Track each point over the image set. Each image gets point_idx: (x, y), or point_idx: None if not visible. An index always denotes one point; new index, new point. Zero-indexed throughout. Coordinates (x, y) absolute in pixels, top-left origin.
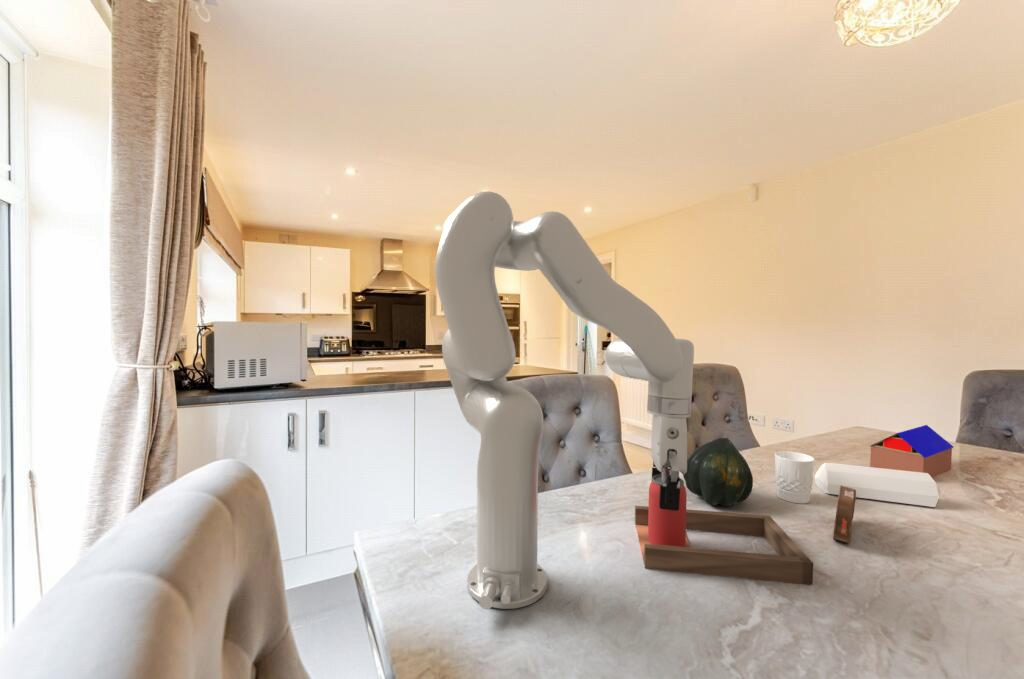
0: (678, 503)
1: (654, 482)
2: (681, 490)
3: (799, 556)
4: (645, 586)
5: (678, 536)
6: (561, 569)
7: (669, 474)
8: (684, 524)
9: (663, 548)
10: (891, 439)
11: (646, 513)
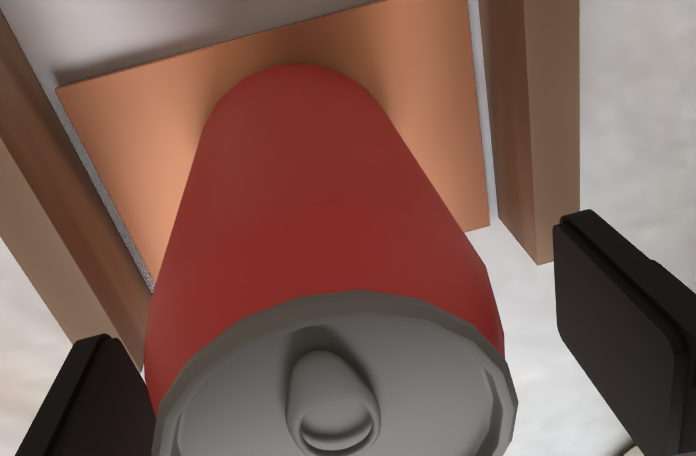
0: (618, 239)
1: None
2: (441, 270)
3: None
4: (657, 186)
5: (388, 120)
6: (596, 415)
7: (40, 454)
8: (354, 108)
9: (568, 180)
10: None
11: (119, 310)
